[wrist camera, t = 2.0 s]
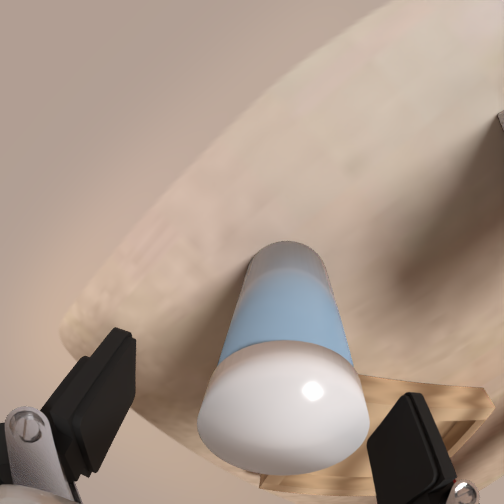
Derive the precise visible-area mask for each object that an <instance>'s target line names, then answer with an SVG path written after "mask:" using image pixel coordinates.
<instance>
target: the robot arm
mask: <svg viewBox="0 0 504 504" xmlns="http://www.w3.org/2000/svg"><path fill="white" fill-rule="evenodd" d="M135 367H136V339H134V338H132V334H131V333H130V332H128V331H125V330H122V329H119V328H116V327H115V328H113V329H112V330H111V332H110V333H109V334H108V335H107V337H106V338H105V339H104V340H103V342H102V343H101V344H100V345H99V347H98V348H97V349H96V351H95V352H94V353H93V354H92V356H91V357H87V356H83V357H82V358H81V359H80V360H79V361H78V362H77V363H76V365H75V366H74V367H73V369H72V370H71V371H70V372H69V374H68V375H67V376H66V377H65V379H64V380H63V381H62V382H61V384H60V385H59V386H58V388H57V389H56V390H55V391H54V393H53V394H52V395H51V397H50V398H49V399H48V401H47V402H46V403H45V405H44V406H43V407H42V409H41V410H40V411H39V410H38V409H35V408H33V407H26V406H24V407H19V408H16V409H14V410H12V411H11V412H10V413H9V414H8V415H7V417H6V420H5V423H0V504H83V503H82V500H81V497H80V495H79V492H78V489H77V487H76V484H75V481H77V480H78V478H79V476H80V474H82V475H84V476H86V477H88V478H89V477H90V475H91V473H92V472H94V473H96V472H98V470H99V468H100V466H101V464H102V462H103V460H104V458H105V456H106V454H107V452H108V449H109V448H110V446H111V444H112V441H113V440H114V438H115V436H116V434H117V431H118V430H119V427H120V426H121V424H122V422H123V420H124V418H125V416H126V414H127V412H128V410H129V408H130V406H131V404H132V402H133V400H134V397H135ZM366 446H367V452H368V457H369V461H370V466H371V471H372V476H373V482H374V487H375V492H376V498H377V504H479V498H480V495H479V491H478V489H477V487H476V486H475V485H474V484H473V483H472V482H470V481H468V480H459V481H457V482H456V483H454V482H453V480H454V479H455V478H457V475H456V473H455V470H454V467H453V465H452V462H451V460H450V457H449V455H448V452H447V450H446V447H445V445H444V442H443V440H442V437H441V435H440V433H439V430H438V428H437V426H436V423H435V421H434V419H433V416H432V414H431V412H430V410H429V407H428V405H427V403H426V401H425V399H424V396H423V395H422V394H421V393H416V392H406V393H405V394H404V395H402V396H401V397H400V398H399V399H398V401H397V402H396V403H395V405H394V406H393V407H392V409H391V410H390V412H389V413H388V414H387V416H386V417H385V418H384V419H383V421H382V422H381V423H380V425H379V426H378V427H377V428H376V430H375V431H374V432H373V433H372V435H371V436H370V437H369V438H368V440H367V445H366Z"/></svg>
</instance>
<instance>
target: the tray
mask: <svg viewBox="0 0 504 504" xmlns="http://www.w3.org/2000/svg"><path fill="white" fill-rule="evenodd" d="M358 376H359V378H360V381H361V385H362V389H363V393H364V397H365V402H366V406H367V410H368V414H369V420H370V425H369V431H368V434H367V436H366V438H365V440H364V442H363V443H362V444H361V446H360V447H359V448H358V449H357V450H356V451H355V452H354V453H353V454H351V455H350V456H349V457H347V458H346V459H344V460H343V461H341V462H339V463H337V464H335V465H333V466H330V467H328V468H325V469H322V470H319V471H315V472H311V473H306V474H299V475H267V474H261V476H260V485H259V488H260V489H266V490H273V491H281V492H289V493H299V494H311V495H328V496H376V492H375V487H374V482H373V476H372V471H371V466H370V461H369V457H368V452H367V446H366V445H367V440H368V438H369V437H370V436H371V435H372V433H373V432H374V431H375V430H376V428H377V427H378V426H379V425H380V423H381V422H382V421H383V419H384V418H385V417H386V416H387V414H388V413H389V412H390V410H391V409H392V407H393V406H394V405H395V403H396V402H397V401H398V399H399V398H400V397H401V396H402V395H404V394H405V393H406V392H416V393H421V394H422V395H423V396H424V399H425V401H426V403H427V405H428V407H429V410H430V412H431V414H432V416H433V419H434V421H435V423H436V426H437V428H438V430H439V433H440V435H441V437H442V440H443V442H444V445H445V447H446V450H447V452H448V455H449V457H450V458H451V457H452V456H453V455H454V454H455V453H456V452H457V451H458V450H459V449H460V448H461V447H462V446H463V445H464V444H465V443H466V442H467V441H468V440H469V438H470V437H471V436H472V435H473V434H474V433H475V432H476V431H477V430H478V428H479V427H480V426H481V425H482V424H483V423H484V422H485V420H486V419H487V418H488V417H489V416H490V414H491V413H492V412H493V411H494V409H495V406H494V405H493V403H492V401H491V399H490V398H489V396H488V395H487V393H486V391H485V390H484V388H476V387H459V386H446V385H435V384H425V383H416V382H407V381H399V380H391V379H384V378H377V377H371V376H364V375H358Z"/></svg>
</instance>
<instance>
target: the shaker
mask: <svg viewBox="0 0 504 504" xmlns="http://www.w3.org/2000/svg"><path fill="white" fill-rule="evenodd" d="M369 425H370V420H369V414H368V410H367V406H366V402H365V397H364V393H363V389H362V385H361V381H360V378H359V376H358V373H357V372H356V370H355V369H354V366H353V362H352V358H351V354H350V351H349V347H348V343H347V339H346V336H345V332H344V328H343V325H342V321H341V318H340V314H339V311H338V307H337V304H336V300H335V297H334V294H333V290H332V287H331V284H330V280H329V277H328V274H327V271H326V267H325V265H324V263H323V261H322V259H321V258H320V256H319V255H318V254H317V253H316V252H315V251H314V250H312V249H311V248H309V247H308V246H306V245H304V244H301V243H298V242H292V241H281V242H276V243H273V244H270V245H268V246H266V247H264V248H263V249H261V250H260V251H259V252H258V253H257V254H256V255H255V256H254V257H253V259H252V260H251V262H250V264H249V266H248V269H247V272H246V275H245V278H244V282H243V285H242V288H241V291H240V295H239V298H238V301H237V304H236V307H235V311H234V314H233V317H232V320H231V323H230V327H229V330H228V333H227V336H226V340H225V343H224V346H223V349H222V352H221V356H220V359H219V362H218V365H217V368H216V369H215V370H214V372H213V374H212V376H211V378H210V381H209V384H208V387H207V390H206V393H205V396H204V399H203V402H202V406H201V409H200V412H199V415H198V418H197V428H198V432H199V435H200V438H201V439H202V441H203V443H204V444H205V445H206V446H207V448H208V449H209V450H210V451H211V452H212V453H214V454H215V455H216V456H217V457H219V458H220V459H222V460H224V461H225V462H227V463H229V464H231V465H233V466H236V467H238V468H241V469H244V470H247V471H251V472H255V473H260V474H267V475H299V474H306V473H311V472H315V471H319V470H322V469H325V468H328V467H330V466H333V465H335V464H337V463H339V462H341V461H343V460H344V459H346V458H347V457H349V456H350V455H351V454H353V453H354V452H355V451H356V450H357V449H358V448H359V447H360V446H361V444H362V443H363V442H364V440H365V438H366V436H367V434H368V431H369Z"/></svg>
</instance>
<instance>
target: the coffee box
mask: <svg viewBox="0 0 504 504" xmlns="http://www.w3.org/2000/svg"><path fill="white" fill-rule="evenodd" d="M498 118H499V120H500V123H501V125H502V128H503V130H504V111H502V112H500V113H499V114H498Z"/></svg>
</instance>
